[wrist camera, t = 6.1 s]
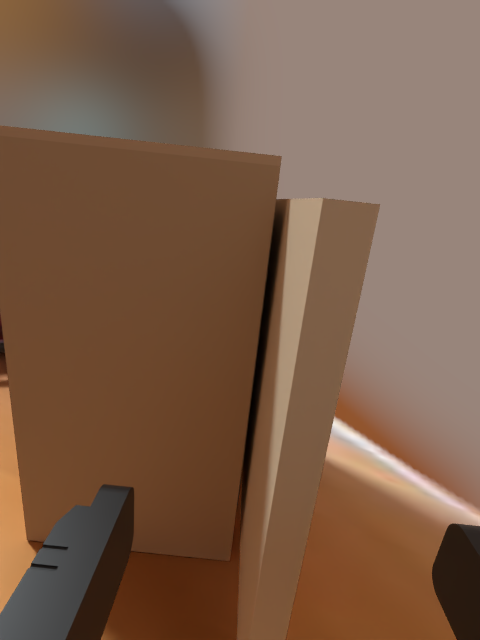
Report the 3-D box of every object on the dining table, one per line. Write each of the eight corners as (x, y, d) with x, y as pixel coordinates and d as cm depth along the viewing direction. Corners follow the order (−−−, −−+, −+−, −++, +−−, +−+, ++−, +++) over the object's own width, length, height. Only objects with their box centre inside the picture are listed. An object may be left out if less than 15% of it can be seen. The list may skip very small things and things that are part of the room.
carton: (231, 561, 18) (285, 153, 12) (27, 540, 18) (-23, 119, 12) (238, 427, 28) (269, 175, 22) (110, 413, 28) (106, 157, 22)
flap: (244, 411, 28) (270, 199, 23) (256, 412, 28) (285, 201, 23) (233, 729, 11) (322, 197, 6) (265, 732, 11) (380, 204, 6)
